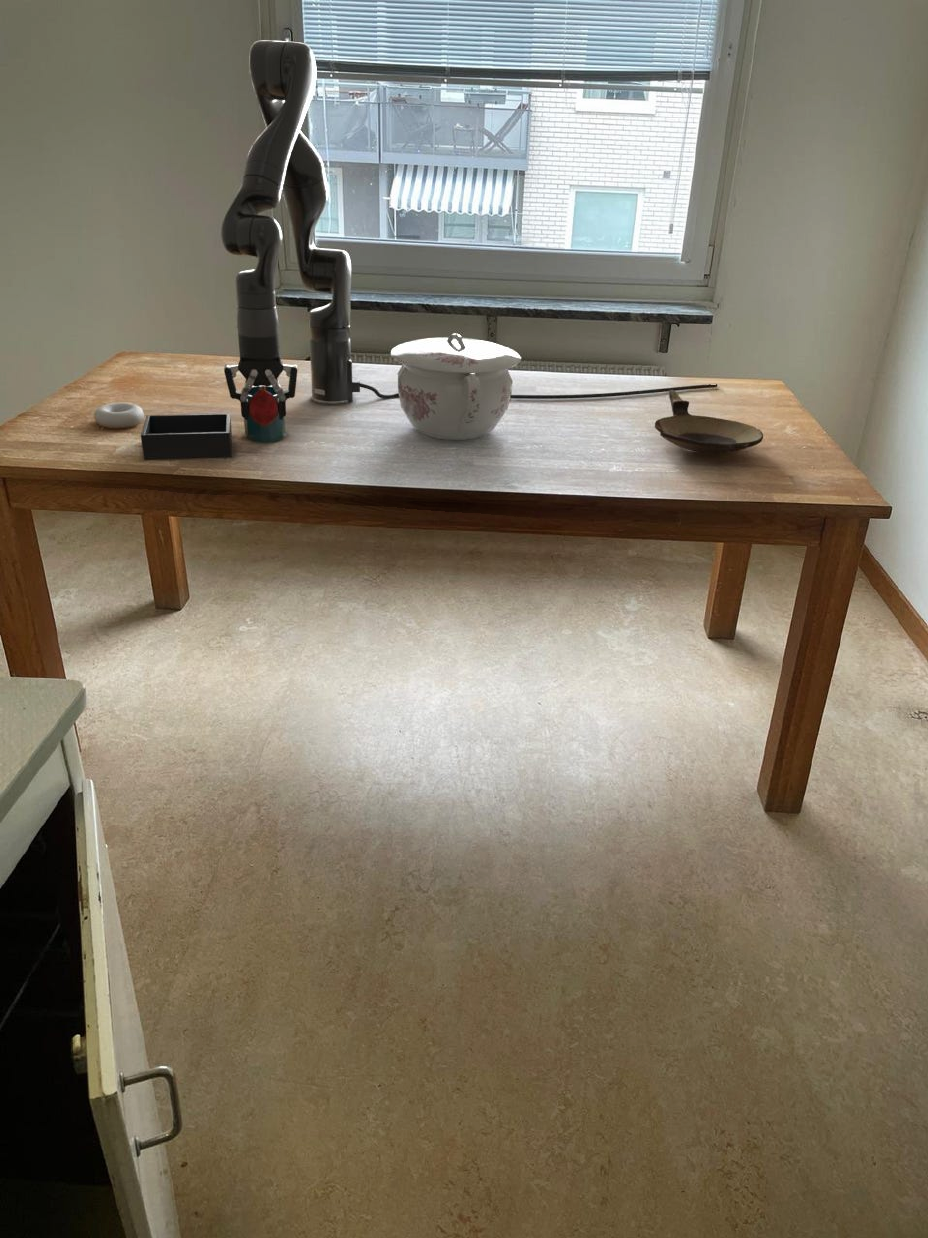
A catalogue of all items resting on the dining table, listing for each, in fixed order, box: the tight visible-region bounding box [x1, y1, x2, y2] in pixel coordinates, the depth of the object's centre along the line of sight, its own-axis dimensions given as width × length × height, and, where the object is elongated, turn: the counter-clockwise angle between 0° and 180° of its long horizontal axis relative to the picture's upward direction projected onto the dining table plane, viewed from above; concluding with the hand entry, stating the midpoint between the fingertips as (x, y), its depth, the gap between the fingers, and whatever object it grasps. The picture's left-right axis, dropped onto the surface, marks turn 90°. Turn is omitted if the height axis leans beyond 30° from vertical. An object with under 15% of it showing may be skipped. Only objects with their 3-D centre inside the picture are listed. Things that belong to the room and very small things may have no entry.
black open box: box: [140, 413, 233, 461], centre depth 178 cm, size 16×12×5 cm
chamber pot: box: [390, 332, 522, 441], centre depth 190 cm, size 28×28×21 cm
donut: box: [93, 402, 145, 429], centre depth 189 cm, size 10×3×10 cm
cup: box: [243, 385, 286, 444], centre depth 185 cm, size 8×8×10 cm
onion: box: [248, 385, 279, 427], centre depth 174 cm, size 6×6×8 cm
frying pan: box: [654, 390, 764, 454], centre depth 192 cm, size 22×30×8 cm
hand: (264, 418), depth 175 cm, fingers closed on onion, 6 cm apart
